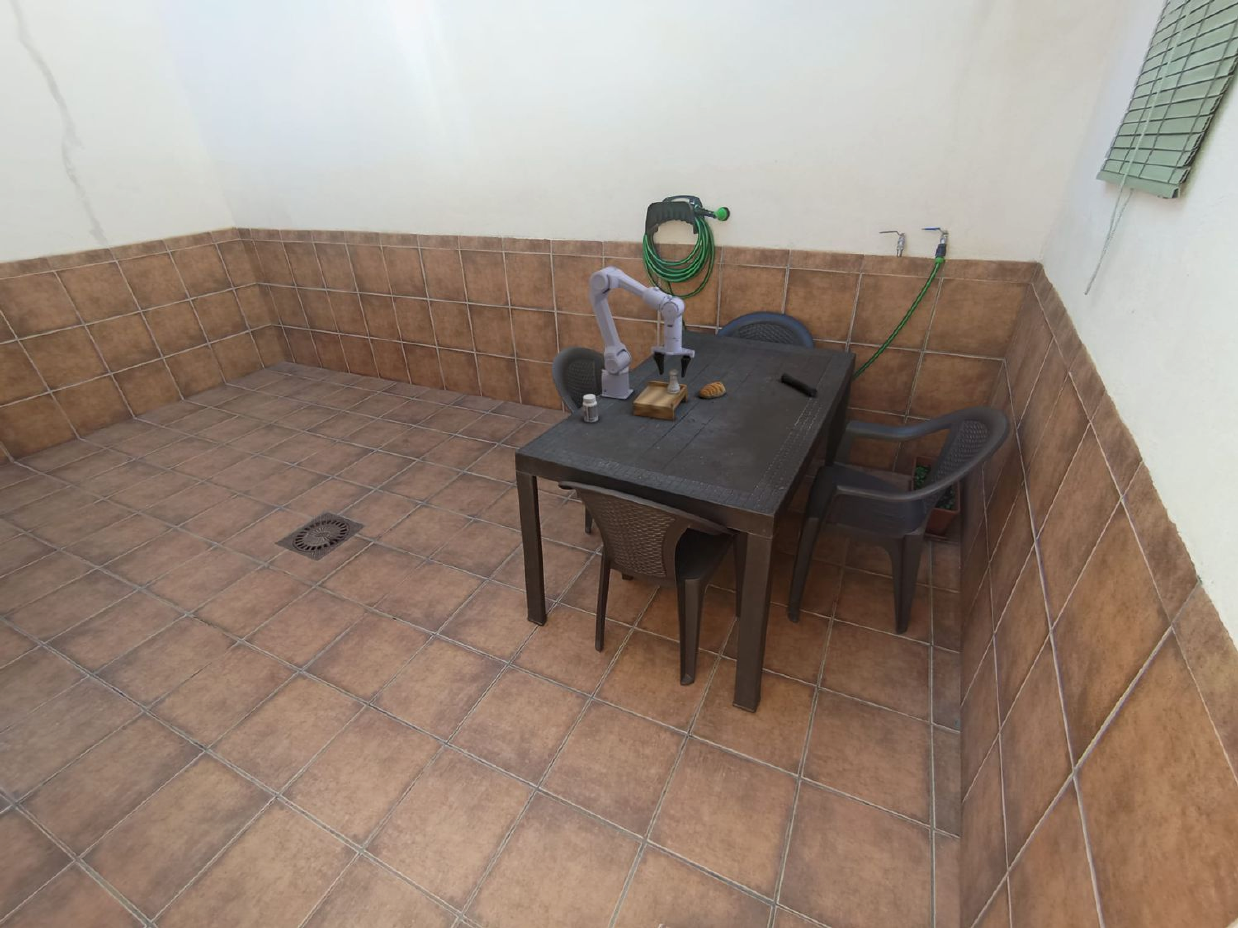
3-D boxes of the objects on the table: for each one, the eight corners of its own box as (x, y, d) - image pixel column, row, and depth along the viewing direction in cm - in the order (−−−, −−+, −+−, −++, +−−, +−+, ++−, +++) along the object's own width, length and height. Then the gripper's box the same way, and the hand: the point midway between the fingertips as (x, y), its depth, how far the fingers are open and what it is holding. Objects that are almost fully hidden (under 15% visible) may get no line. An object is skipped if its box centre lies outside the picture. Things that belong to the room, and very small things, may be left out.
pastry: (708, 401, 195) (708, 391, 193) (694, 395, 200) (694, 385, 198) (726, 393, 200) (727, 383, 198) (712, 388, 205) (713, 378, 203)
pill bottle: (600, 417, 188) (598, 394, 184) (595, 423, 184) (593, 400, 180) (587, 415, 189) (585, 392, 185) (581, 421, 186) (579, 398, 181)
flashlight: (787, 379, 209) (788, 372, 207) (817, 395, 196) (818, 387, 194) (780, 381, 208) (781, 373, 206) (810, 397, 195) (811, 389, 193)
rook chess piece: (681, 390, 193) (682, 368, 189) (677, 395, 190) (677, 373, 186) (669, 388, 195) (669, 366, 191) (665, 393, 192) (665, 371, 188)
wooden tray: (633, 414, 189) (632, 398, 186) (649, 395, 201) (649, 380, 198) (672, 420, 184) (673, 403, 181) (687, 400, 196) (687, 385, 193)
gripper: (647, 338, 183) (648, 377, 190) (690, 342, 178) (689, 382, 185) (655, 331, 188) (655, 369, 195) (697, 335, 183) (695, 374, 190)
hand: (672, 375), depth 190 cm, fingers open, 7 cm apart
